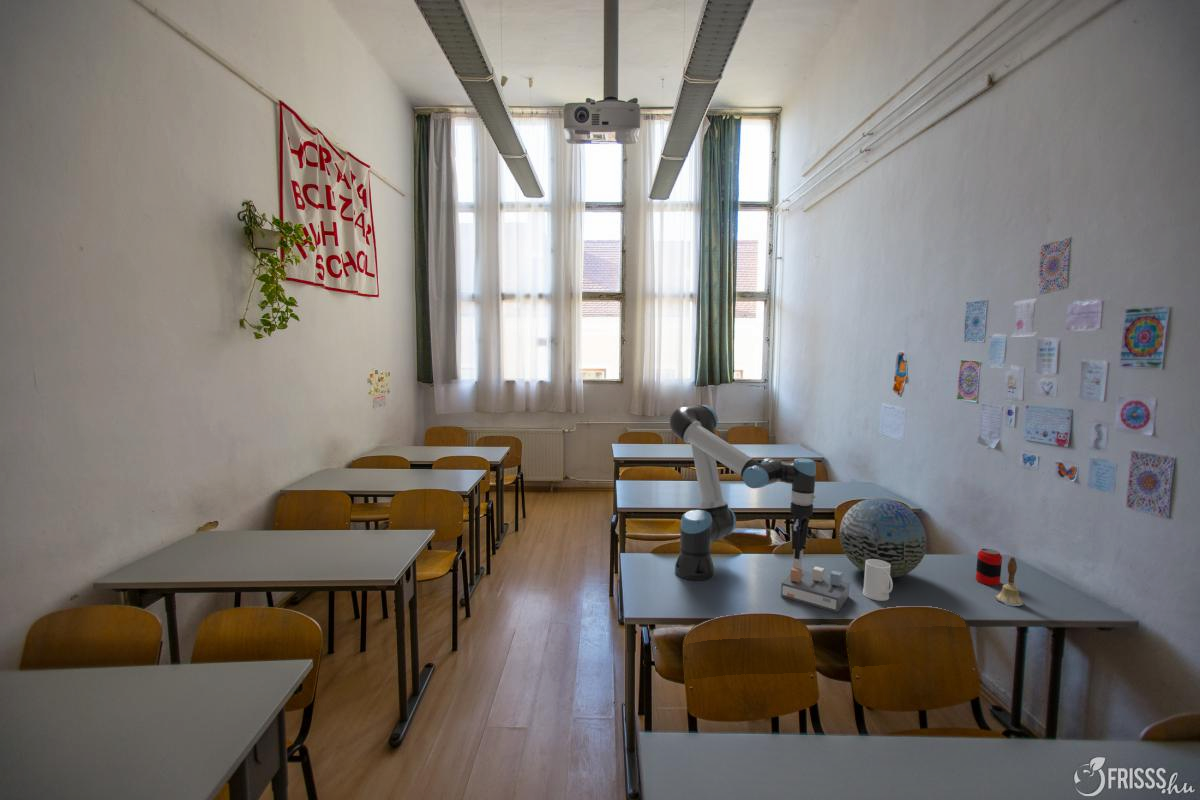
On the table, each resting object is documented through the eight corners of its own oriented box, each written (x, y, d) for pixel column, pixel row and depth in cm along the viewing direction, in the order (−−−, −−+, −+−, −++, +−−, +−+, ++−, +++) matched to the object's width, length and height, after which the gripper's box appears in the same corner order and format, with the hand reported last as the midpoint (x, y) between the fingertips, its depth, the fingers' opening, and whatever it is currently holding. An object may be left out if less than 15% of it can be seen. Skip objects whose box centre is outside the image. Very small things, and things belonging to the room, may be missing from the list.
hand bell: (1016, 609, 191) (1020, 564, 189) (989, 599, 198) (993, 555, 196) (1029, 604, 195) (1033, 559, 193) (1002, 594, 202) (1006, 551, 200)
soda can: (981, 576, 218) (983, 546, 216) (1003, 583, 211) (1006, 552, 210) (971, 580, 213) (974, 550, 212) (994, 587, 207) (997, 556, 206)
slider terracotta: (790, 580, 199) (790, 569, 198) (793, 577, 201) (793, 566, 201) (798, 582, 197) (799, 571, 196) (801, 579, 199) (802, 569, 199)
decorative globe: (938, 579, 214) (944, 503, 211) (897, 599, 197) (903, 516, 194) (864, 554, 238) (868, 485, 235) (821, 569, 222) (825, 495, 218)
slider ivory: (812, 579, 199) (813, 568, 199) (814, 577, 202) (815, 566, 201) (821, 582, 198) (821, 571, 197) (823, 579, 200) (824, 568, 200)
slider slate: (830, 584, 196) (830, 573, 195) (832, 581, 198) (833, 570, 198) (839, 586, 194) (839, 575, 194) (841, 583, 196) (842, 572, 196)
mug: (900, 605, 193) (902, 571, 191) (876, 605, 192) (879, 572, 190) (879, 589, 204) (882, 558, 203) (857, 590, 203) (859, 558, 202)
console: (780, 596, 197) (781, 583, 197) (794, 582, 210) (795, 569, 209) (836, 613, 186) (837, 598, 185) (848, 596, 198) (849, 582, 198)
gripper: (807, 509, 190) (802, 575, 193) (818, 500, 201) (813, 563, 203) (785, 504, 195) (780, 569, 198) (797, 496, 205) (792, 558, 208)
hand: (797, 566), depth 201 cm, fingers closed
